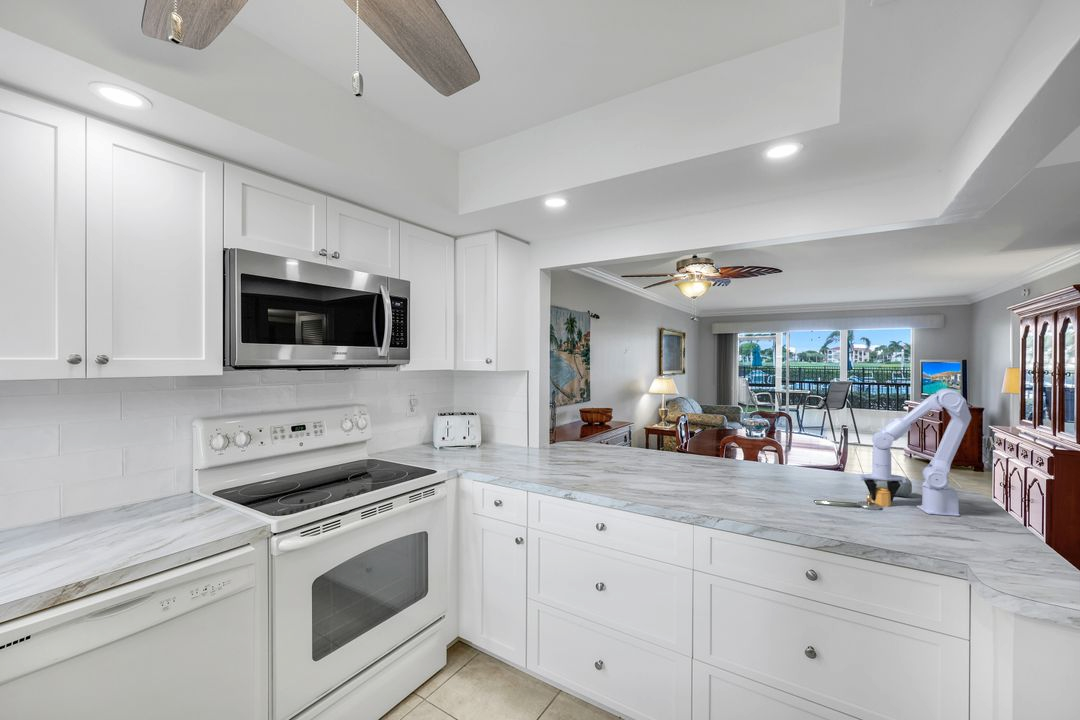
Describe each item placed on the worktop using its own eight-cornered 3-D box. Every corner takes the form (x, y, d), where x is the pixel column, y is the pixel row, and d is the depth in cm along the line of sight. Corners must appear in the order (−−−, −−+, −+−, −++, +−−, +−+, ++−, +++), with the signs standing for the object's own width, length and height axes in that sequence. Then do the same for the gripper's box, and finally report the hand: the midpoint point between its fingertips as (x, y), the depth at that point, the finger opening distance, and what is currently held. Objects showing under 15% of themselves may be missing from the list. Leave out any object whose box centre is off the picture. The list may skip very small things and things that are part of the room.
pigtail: (875, 504, 172) (875, 492, 172) (884, 510, 165) (884, 498, 165) (811, 500, 178) (811, 488, 178) (817, 506, 171) (817, 494, 171)
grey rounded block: (867, 487, 183) (874, 464, 186) (865, 492, 191) (872, 470, 193) (909, 501, 175) (917, 477, 177) (906, 506, 183) (913, 483, 185)
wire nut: (886, 502, 175) (886, 486, 175) (892, 506, 170) (892, 490, 170) (871, 501, 176) (871, 485, 176) (877, 505, 171) (877, 489, 171)
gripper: (899, 462, 175) (899, 498, 175) (855, 460, 179) (855, 495, 179) (908, 467, 168) (908, 504, 168) (863, 465, 172) (863, 501, 172)
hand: (881, 500), depth 173 cm, fingers closed on wire nut, 5 cm apart
